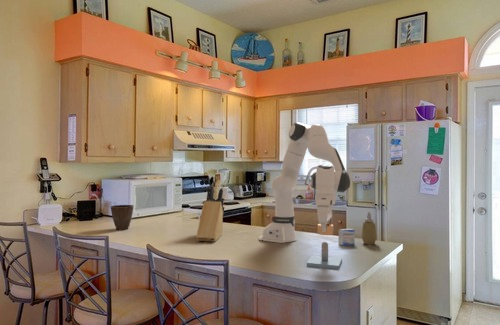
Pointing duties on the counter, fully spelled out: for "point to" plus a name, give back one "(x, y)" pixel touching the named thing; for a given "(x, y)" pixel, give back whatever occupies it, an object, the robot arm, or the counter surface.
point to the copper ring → (328, 229)
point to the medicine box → (346, 237)
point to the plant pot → (122, 216)
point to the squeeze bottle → (369, 231)
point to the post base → (325, 263)
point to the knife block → (211, 217)
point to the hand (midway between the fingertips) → (325, 230)
